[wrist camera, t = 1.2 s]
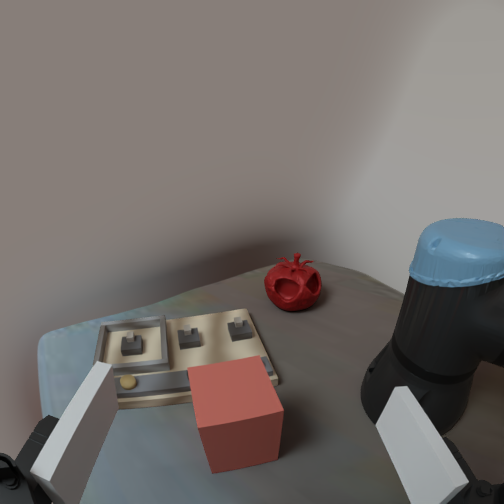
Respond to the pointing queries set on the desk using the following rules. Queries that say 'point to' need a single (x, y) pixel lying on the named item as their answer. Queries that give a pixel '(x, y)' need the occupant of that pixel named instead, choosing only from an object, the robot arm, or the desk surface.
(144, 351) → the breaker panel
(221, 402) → the tall red rectangular block
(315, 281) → the pomegranate
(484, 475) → the desk surface
